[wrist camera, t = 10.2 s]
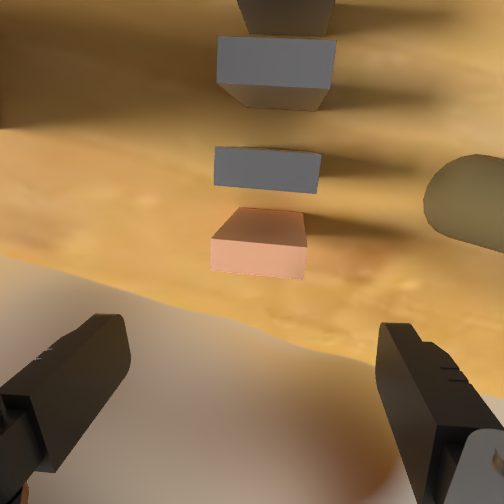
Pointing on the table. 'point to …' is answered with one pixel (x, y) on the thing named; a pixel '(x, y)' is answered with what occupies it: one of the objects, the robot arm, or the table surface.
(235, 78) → the domino
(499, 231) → the olive green pawn
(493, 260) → the table surface
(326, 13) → the domino
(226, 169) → the domino
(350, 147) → the table surface
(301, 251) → the domino
